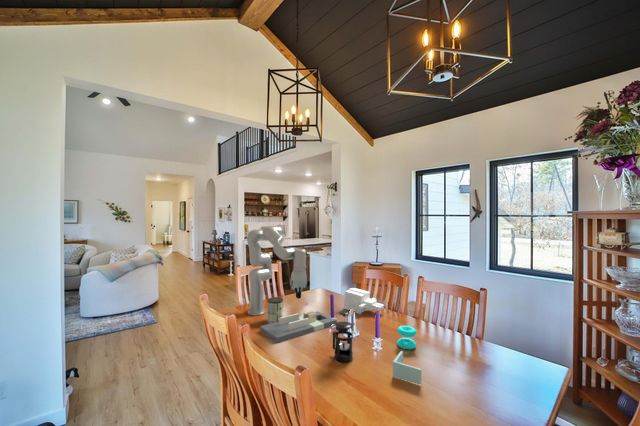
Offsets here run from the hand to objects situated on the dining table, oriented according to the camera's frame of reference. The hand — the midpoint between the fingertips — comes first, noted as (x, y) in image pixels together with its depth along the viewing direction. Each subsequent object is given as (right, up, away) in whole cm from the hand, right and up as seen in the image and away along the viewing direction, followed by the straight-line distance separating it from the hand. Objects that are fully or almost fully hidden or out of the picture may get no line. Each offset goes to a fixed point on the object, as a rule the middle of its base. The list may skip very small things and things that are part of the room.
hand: (298, 297), depth 179 cm
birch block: (+7, -16, +4) cm, 18 cm away
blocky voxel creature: (+47, -20, +33) cm, 61 cm away
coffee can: (-17, -19, +12) cm, 28 cm away
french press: (+25, -20, -37) cm, 49 cm away
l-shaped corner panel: (+54, -21, -51) cm, 77 cm away
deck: (+1, -19, 0) cm, 19 cm away
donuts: (+61, -20, -23) cm, 69 cm away
